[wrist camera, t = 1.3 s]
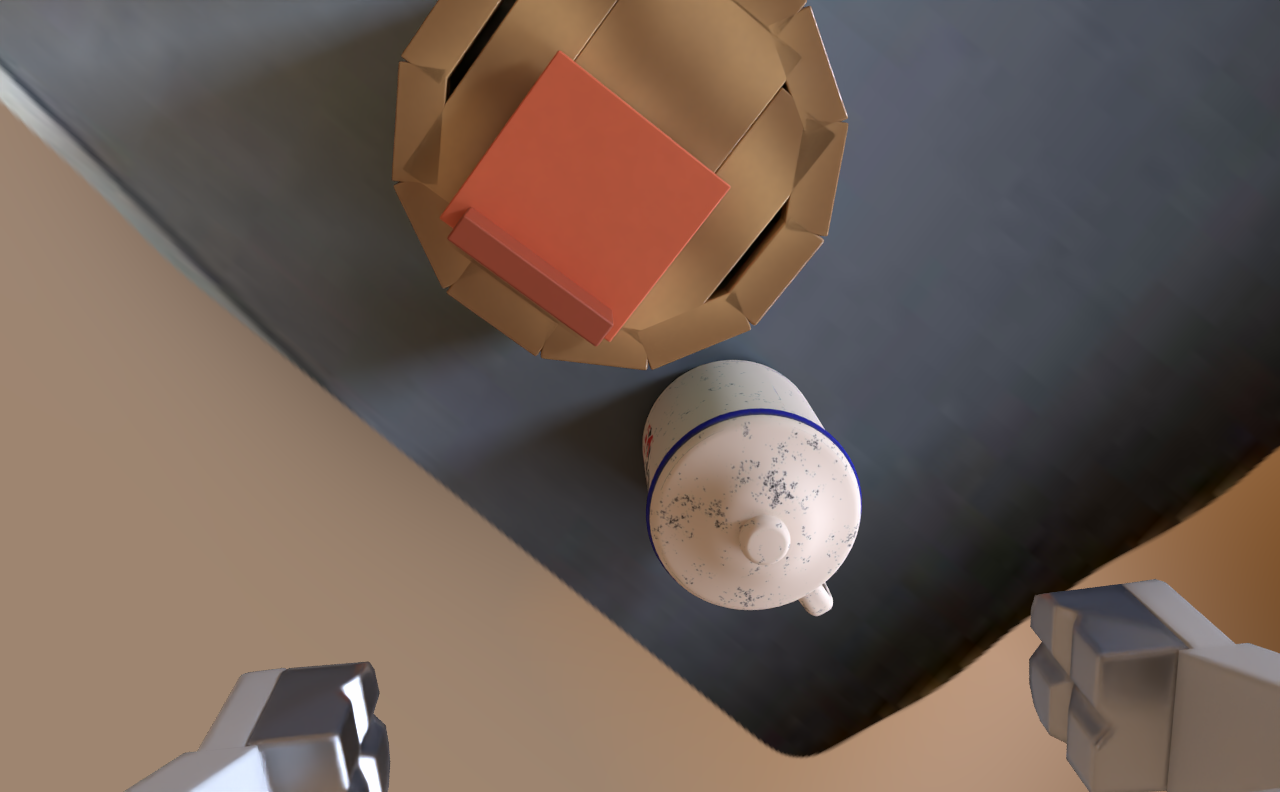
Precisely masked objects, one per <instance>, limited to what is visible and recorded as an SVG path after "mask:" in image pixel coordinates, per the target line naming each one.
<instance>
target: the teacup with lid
mask: <svg viewBox="0 0 1280 792" xmlns="http://www.w3.org/2000/svg"><path fill="white" fill-rule="evenodd" d="M642 450H643V459H644V466H645V474H646V481H647V488H648V497H647V504H646V523H647V530H648V534H649V539H650V542H651V545H652V547H653V550H654V552H655V554H656V556H657V558H658V559H659V561H660V563H661V564H662V566H663V567H664V568H665V570H666V571H667V572H668V573H669V575H670V576H671V577H672V578H673V579H674V580H675V581H676V582H678V583H679V584H680V585H681V586H682V587H684V588H685V589H686V590H688V591H689V592H691V593H692V594H694V595H695V596H697V597H699V598H701V599H703V600H705V601H707V602H710V603H712V604H715V605H718V606H722V607H727V608H732V609H739V610H760V609H768V608H773V607H778V606H782V605H785V604H788V603H791V602H793V601H796V600H799V601H800V603H801V604H802V605H803V607H804V608H805V609H806V610H807V611H808V612H809V613H810V614H812V615H814V616H819V615H821V614H823V613H825V612H827V611H828V610H830V609H831V608H832V605H833V599H832V596H831V594H830V591H829V589H828V587H827V585H826V583H825V582H826V581H827V580H828V579H829V578H830V577H831V576H832V575H833V574H834V573H835V572H836V571H837V570H838V568H839V567H840V566H841V564H842V563H843V562H844V560H845V559H846V557H847V555H848V554H849V552H850V550H851V548H852V546H853V543H854V541H855V538H856V535H857V532H858V528H859V524H860V518H861V509H862V497H861V488H860V483H859V479H858V476H857V473H856V470H855V468H854V465H853V463H852V461H851V459H850V458H849V456H848V454H847V453H846V451H845V450H844V448H843V447H842V446H841V445H840V444H839V442H838V441H837V440H836V439H835V438H834V437H833V436H832V435H831V434H830V433H828V432H827V431H826V430H825V429H824V427H823V426H822V424H821V423H820V421H819V419H818V418H817V416H816V415H815V413H814V412H813V410H812V408H811V407H810V405H809V404H808V402H807V400H806V399H805V397H804V396H803V395H802V393H801V392H800V391H799V389H798V388H797V387H796V386H795V385H794V384H793V383H792V382H791V381H790V380H788V379H787V378H786V377H785V376H783V375H782V374H780V373H779V372H777V371H775V370H773V369H771V368H769V367H767V366H764V365H762V364H758V363H755V362H750V361H744V360H723V361H716V362H711V363H707V364H704V365H701V366H699V367H696V368H694V369H692V370H690V371H688V372H686V373H684V374H683V375H681V376H680V377H678V378H677V379H676V380H675V381H673V382H672V383H671V384H670V385H669V386H668V387H667V388H666V389H665V390H664V391H663V392H662V393H661V395H660V396H659V397H658V399H657V400H656V402H655V403H654V405H653V407H652V409H651V411H650V413H649V415H648V418H647V421H646V424H645V428H644V433H643V442H642Z"/></svg>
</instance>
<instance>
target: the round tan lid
mask: <svg viewBox="0 0 1280 792" xmlns="http://www.w3.org/2000/svg"><path fill="white" fill-rule="evenodd" d="M503 1H504V0H438V1H437V3H436V4H435V6H434V7H433V9H432V10H431V12H430V13H429V15H428V16H427V18H426V19H425V21H424V22H423V24H422V25H421V26H420V28H419V29H418V31H417V32H416V34H415V35H414V37H413V38H412V40H411V41H410V43H409V44H408V46H407V47H406V49H405V50H404V52H403V53H402V55H401V57H402V58H404V59H405V60H406V61H400V62H399V68H398V84H397V101H396V117H395V134H394V150H393V167H392V180H393V181H399V182H398V183H396V184H395V185H394V189H395V191H396V193H397V195H398V197H399V199H400V201H401V204H402V206H403V208H404V210H405V212H406V214H407V216H408V218H409V220H410V222H411V224H412V226H413V228H414V230H415V233H416V235H417V237H418V239H419V241H420V243H421V245H422V247H423V249H424V251H425V253H426V255H427V257H428V259H429V261H430V264H431V266H432V268H433V270H434V272H435V274H436V276H437V278H438V280H439V282H440V284H441V286H442V288H446V287H449V286H450V287H449V289H448V290H447V294H448V295H450V296H451V297H453V298H454V299H455V300H457V301H458V302H460V303H461V304H463V305H464V306H465V307H467V308H468V309H470V310H471V311H472V312H474V313H475V314H477V315H478V316H479V317H481V318H482V319H484V320H485V321H486V322H488V323H489V324H491V325H492V326H493V327H495V328H496V329H498V330H499V331H501V332H502V333H503V334H505V335H506V336H508V337H509V338H510V339H512V340H513V341H515V342H516V343H517V344H519V345H520V346H522V347H523V348H524V349H526V350H527V351H529V352H530V353H531V354H533V355H534V356H536V355H538V353H539V352H540V351H541V358H544V359H552V360H561V361H570V362H578V363H587V364H596V365H604V366H613V367H622V368H630V369H639V370H646V369H647V368H648V363H649V365H650V367H651V369H652V370H653V369H656V368H658V367H661V366H663V365H666V364H668V363H670V362H673V361H675V360H678V359H680V358H683V357H685V356H688V355H690V354H693V353H695V352H697V351H700V350H702V349H705V348H707V347H710V346H712V345H715V344H717V343H720V342H722V341H724V340H727V339H729V338H732V337H734V336H737V335H739V334H742V333H744V332H747V331H749V330H751V327H750V324H749V322H750V323H751V324H753V325H756V324H757V323H758V322H759V321H760V320H761V319H762V317H763V316H764V315H765V314H766V312H767V311H768V310H769V309H770V308H771V306H772V305H773V304H774V303H775V301H776V300H777V299H778V298H779V297H780V295H781V294H782V293H783V292H784V290H785V289H786V288H787V287H788V286H789V284H790V283H791V282H792V281H793V279H794V278H795V277H796V276H797V274H798V273H799V272H800V271H801V270H802V268H803V267H804V266H805V265H806V263H807V262H808V261H809V260H810V259H811V257H812V256H813V255H814V254H815V252H816V251H817V250H818V249H819V248H820V246H821V245H822V244H823V242H824V240H823V239H822V238H821V237H820V236H827V235H828V231H829V226H830V220H831V215H832V210H833V204H834V199H835V194H836V189H837V183H838V178H839V173H840V167H841V162H842V157H843V151H844V146H845V141H846V136H847V130H848V123H845V122H841V121H843V120H845V119H847V118H848V116H847V113H846V110H845V107H844V104H843V101H842V98H841V95H840V92H839V89H838V86H837V83H836V80H835V77H834V74H833V71H832V68H831V65H830V62H829V59H828V56H827V53H826V50H825V47H824V44H823V41H822V38H821V35H820V32H819V29H818V26H817V23H816V20H815V17H814V14H813V11H812V8H811V6H807V7H804V5H805V4H806V3H807V0H517V1H516V2H515V3H514V5H513V6H512V8H511V9H510V11H509V12H508V14H507V15H506V16H505V18H504V19H503V21H502V22H501V24H500V25H499V27H498V28H497V29H496V31H495V32H494V34H493V35H492V37H491V38H490V40H489V41H488V42H487V44H486V45H485V47H484V48H483V50H482V51H481V53H480V54H479V55H478V57H477V58H476V60H475V61H474V63H473V64H472V66H471V67H470V68H469V70H468V71H467V73H466V74H465V76H464V77H463V79H462V80H461V81H460V83H459V84H458V86H457V87H456V89H455V90H454V92H453V93H452V94H451V96H450V97H449V91H450V78H451V77H452V75H453V74H454V72H455V71H456V69H457V68H458V66H459V65H460V64H461V62H462V61H463V59H464V58H465V56H466V55H467V53H468V52H469V50H470V49H471V48H472V46H473V45H474V43H475V42H476V40H477V39H478V37H479V36H480V34H481V33H482V32H483V30H484V29H485V27H486V26H487V24H488V23H489V21H490V20H491V19H492V17H493V16H494V14H495V13H496V11H497V10H498V8H499V7H500V5H501V4H502V3H503ZM559 50H560V51H562V52H563V53H564V54H566V55H567V56H568V57H569V58H571V59H572V60H573V61H574V62H576V63H577V64H578V65H579V66H581V67H582V68H583V69H584V70H586V71H587V72H588V73H589V74H591V75H592V76H593V77H594V78H596V79H597V80H598V81H599V82H601V83H602V84H603V85H604V86H606V87H607V88H608V89H610V90H611V91H612V92H613V93H615V94H616V95H617V96H618V97H620V98H621V99H622V100H623V101H625V102H626V103H627V104H628V105H630V106H631V107H632V108H633V109H635V110H636V111H637V112H638V113H640V114H641V115H642V116H643V117H645V118H646V119H647V120H648V121H650V122H651V123H652V124H653V125H655V126H656V127H657V128H658V129H660V130H661V131H662V132H664V133H665V134H666V135H667V136H669V137H670V138H671V139H672V140H674V141H675V142H676V143H677V144H679V145H680V146H681V147H682V148H684V149H685V150H686V151H687V152H689V153H690V154H691V155H692V156H694V157H695V158H696V159H697V160H699V161H700V162H701V163H702V164H704V165H705V166H706V167H707V168H709V169H710V170H711V171H712V172H714V173H715V174H716V175H717V176H719V177H720V178H721V179H723V180H724V181H725V182H726V183H728V184H729V185H730V189H729V191H728V192H727V193H726V194H725V196H724V197H723V198H722V199H721V201H720V202H719V203H718V205H717V206H716V207H715V208H714V210H713V211H712V212H711V214H710V215H709V216H708V217H707V219H706V220H705V221H704V223H703V224H702V225H701V226H700V228H699V229H698V230H697V231H696V233H695V234H694V235H693V237H692V238H691V239H690V240H689V242H688V243H687V244H686V246H685V247H684V248H683V249H682V251H681V252H680V253H679V255H678V256H677V257H676V258H675V260H674V261H673V262H672V263H671V265H670V266H669V267H668V269H667V270H666V271H665V272H664V274H663V275H662V276H661V278H660V279H659V280H658V281H657V283H656V284H655V285H654V287H653V288H652V289H651V290H650V292H649V293H648V294H647V295H646V297H645V298H644V299H643V301H642V302H641V303H640V304H639V306H638V307H637V308H636V310H635V311H634V312H633V313H632V315H631V316H630V317H629V319H628V320H627V321H626V322H625V324H624V325H623V326H622V327H621V329H620V330H619V331H618V333H617V334H616V335H615V336H614V338H613V339H612V340H611V341H610V342H608V341H607V340H605V339H603V340H602V341H601V342H600V344H599V345H598V346H593V345H592V344H591V343H589V342H588V341H587V340H585V339H584V338H582V337H581V336H580V335H578V334H577V333H576V332H574V331H573V330H571V329H570V328H569V327H567V326H566V325H564V324H563V323H562V322H560V321H559V320H558V319H556V318H555V317H553V316H552V315H551V314H549V313H548V312H547V311H545V310H544V309H542V308H541V307H540V306H538V305H537V304H535V303H534V302H533V301H531V300H530V299H529V298H527V297H526V296H524V295H523V294H522V293H520V292H519V291H518V290H516V289H515V288H513V287H512V286H511V285H509V284H508V283H506V282H505V281H504V280H502V279H501V278H500V277H498V276H497V275H495V274H494V273H493V272H491V271H490V270H489V269H487V268H486V267H484V266H483V265H482V264H480V263H479V262H477V261H476V260H475V259H473V258H472V257H471V256H469V255H468V254H466V253H465V252H464V251H462V250H461V249H460V248H458V247H457V246H455V245H454V244H453V243H451V242H450V241H448V239H447V237H448V235H449V234H450V233H451V231H452V230H453V228H452V227H450V226H449V225H448V224H446V223H445V222H443V221H442V220H441V219H440V216H441V214H442V213H443V212H444V210H445V209H446V207H447V206H448V205H449V203H450V202H451V200H452V199H453V198H454V196H455V195H456V193H457V192H458V191H459V189H460V188H461V186H462V185H463V183H464V182H465V181H466V179H467V178H468V176H469V175H470V174H471V172H472V171H473V169H474V168H475V167H476V165H477V164H478V162H479V161H480V160H481V158H482V157H483V155H484V154H485V153H486V151H487V150H488V148H489V147H490V145H491V144H492V143H493V141H494V140H495V138H496V137H497V136H498V134H499V133H500V131H501V130H502V129H503V127H504V126H505V124H506V123H507V122H508V120H509V119H510V117H511V116H512V115H513V113H514V112H515V110H516V109H517V108H518V106H519V105H520V103H521V102H522V100H523V99H524V98H525V96H526V95H527V93H528V92H529V91H530V89H531V88H532V86H533V85H534V84H535V82H536V81H537V79H538V78H539V77H540V75H541V74H542V72H543V71H544V70H545V68H546V67H547V65H548V64H549V62H550V61H551V60H552V58H553V57H554V55H555V54H556V53H557V51H559ZM782 86H783V88H781V87H782ZM781 207H782V210H781V216H780V219H779V220H778V221H777V223H776V224H775V225H774V226H773V228H772V229H771V230H770V231H769V233H768V234H767V235H766V236H765V238H764V239H763V240H762V241H761V243H760V244H759V245H758V246H757V248H756V249H755V250H754V251H753V253H752V254H751V255H750V256H749V258H748V259H747V260H746V261H745V263H744V264H743V265H742V266H741V268H740V269H739V270H738V271H737V273H736V274H735V275H734V276H733V278H732V279H731V280H730V281H729V283H728V284H727V285H726V286H725V288H722V289H720V290H717V291H715V290H716V288H717V287H718V286H719V285H720V283H721V282H722V281H723V280H724V278H725V277H726V276H727V275H728V273H729V272H730V271H731V270H732V268H733V267H734V266H735V265H736V263H737V262H738V261H739V260H740V258H741V257H742V256H743V255H744V253H745V252H746V251H747V250H748V248H749V247H750V246H751V245H752V243H753V242H754V241H755V240H756V238H757V237H758V236H759V235H760V233H761V232H762V231H763V230H764V228H765V227H766V226H767V225H768V223H769V222H770V221H771V220H772V218H773V217H774V216H775V215H776V213H777V212H778V211H779V210H780V208H781ZM819 235H820V236H819ZM714 291H715V292H714ZM748 321H749V322H748Z"/></svg>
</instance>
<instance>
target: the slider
mask: <svg viewBox="0 0 1280 792" xmlns="http://www.w3.org/2000/svg"><path fill="white" fill-rule="evenodd" d="M729 189H730V185H729V184H728V183H726V182H725V181H724V180H723V179H721V178H720V177H719V176H717V175H716V174H715V173H714V172H712V171H711V170H710V169H709V168H707V167H706V166H705V165H704V164H702V163H701V162H700V161H699V160H697V159H696V158H695V157H694V156H692V155H691V154H690V153H689V152H687V151H686V150H685V149H684V148H682V147H681V146H680V145H679V144H677V143H676V142H675V141H674V140H672V139H671V138H670V137H669V136H667V135H666V134H665V133H664V132H662V131H661V130H660V129H658V128H657V127H656V126H655V125H653V124H652V123H651V122H650V121H648V120H647V119H646V118H645V117H643V116H642V115H641V114H640V113H638V112H637V111H636V110H635V109H633V108H632V107H631V106H630V105H628V104H627V103H626V102H625V101H623V100H622V99H621V98H620V97H618V96H617V95H616V94H615V93H613V92H612V91H611V90H610V89H608V88H607V87H606V86H604V85H603V84H602V83H601V82H599V81H598V80H597V79H596V78H594V77H593V76H592V75H591V74H589V73H588V72H587V71H586V70H584V69H583V68H582V67H581V66H579V65H578V64H577V63H576V62H574V61H573V60H572V59H571V58H569V57H568V56H567V55H566V54H564V53H563V52H562V51H560V50H559V51H557V53H556V54H555V55H554V57H553V58H552V60H551V61H550V62H549V64H548V65H547V67H546V68H545V70H544V71H543V72H542V74H541V75H540V77H539V78H538V79H537V81H536V82H535V84H534V85H533V86H532V88H531V89H530V91H529V92H528V93H527V95H526V96H525V98H524V99H523V100H522V102H521V103H520V105H519V106H518V108H517V109H516V110H515V112H514V113H513V115H512V116H511V117H510V119H509V120H508V122H507V123H506V124H505V126H504V127H503V129H502V130H501V131H500V133H499V134H498V136H497V137H496V138H495V140H494V141H493V143H492V144H491V145H490V147H489V148H488V150H487V151H486V153H485V154H484V155H483V157H482V158H481V160H480V161H479V162H478V164H477V165H476V167H475V168H474V169H473V171H472V172H471V174H470V175H469V176H468V178H467V179H466V181H465V182H464V183H463V185H462V186H461V188H460V189H459V191H458V192H457V193H456V195H455V196H454V198H453V199H452V200H451V202H450V203H449V205H448V206H447V207H446V209H445V210H444V212H443V213H442V214H441V216H440V219H441V220H442V221H443V222H445V223H446V224H448V225H449V226H450V227H452V228H453V230H452V231H451V233H450V234H449V235H448V237H447V239H448V241H450V242H451V243H453V244H454V245H455V246H457V247H458V248H460V249H461V250H462V251H464V252H465V253H466V254H468V255H469V256H471V257H472V258H473V259H475V260H476V261H477V262H479V263H480V264H482V265H483V266H484V267H486V268H487V269H489V270H490V271H491V272H493V273H494V274H495V275H497V276H498V277H500V278H501V279H502V280H504V281H505V282H506V283H508V284H509V285H511V286H512V287H513V288H515V289H516V290H518V291H519V292H520V293H522V294H523V295H524V296H526V297H527V298H529V299H530V300H531V301H533V302H534V303H535V304H537V305H538V306H540V307H541V308H542V309H544V310H545V311H547V312H548V313H549V314H551V315H552V316H553V317H555V318H556V319H558V320H559V321H560V322H562V323H563V324H564V325H566V326H567V327H569V328H570V329H571V330H573V331H574V332H576V333H577V334H578V335H580V336H581V337H582V338H584V339H585V340H587V341H588V342H589V343H591V344H592V345H593V346H598V345H599V344H600V342H601V341H602V340H603V339H605V340H607V341H608V342H610V341H611V340H612V339H613V338H614V336H615V335H616V334H617V333H618V331H619V330H620V329H621V327H622V326H623V325H624V324H625V322H626V321H627V320H628V319H629V317H630V316H631V315H632V313H633V312H634V311H635V310H636V308H637V307H638V306H639V304H640V303H641V302H642V301H643V299H644V298H645V297H646V295H647V294H648V293H649V292H650V290H651V289H652V288H653V287H654V285H655V284H656V283H657V281H658V280H659V279H660V278H661V276H662V275H663V274H664V272H665V271H666V270H667V269H668V267H669V266H670V265H671V263H672V262H673V261H674V260H675V258H676V257H677V256H678V255H679V253H680V252H681V251H682V249H683V248H684V247H685V246H686V244H687V243H688V242H689V240H690V239H691V238H692V237H693V235H694V234H695V233H696V231H697V230H698V229H699V228H700V226H701V225H702V224H703V223H704V221H705V220H706V219H707V217H708V216H709V215H710V214H711V212H712V211H713V210H714V208H715V207H716V206H717V205H718V203H719V202H720V201H721V199H722V198H723V197H724V196H725V194H726V193H727V192H728V191H729Z"/></svg>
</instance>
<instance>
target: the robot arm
mask: <svg viewBox="0 0 1280 792" xmlns="http://www.w3.org/2000/svg"><path fill="white" fill-rule="evenodd" d="M1030 627H1031V628H1032V629H1033V631H1034V632H1035V633H1036V634H1037V636H1038V637H1039V638H1040V640H1041V641H1042V643H1041V644H1040V645H1039V647H1038V648H1037V649H1036V651H1035V652H1034V653H1033V655H1032V656H1031V658H1030V659H1029V675H1030V676H1029V681H1030V682H1029V683H1030V689H1031V694H1032V698H1033V703H1034V707H1035V709H1036V712H1037V714H1038V716H1039V719H1040V721H1041V723H1042V724H1043V726H1044V727H1045V728H1046V730H1047V732H1048V733H1049V735H1051V736H1053V737H1055V738H1057V739H1059V740H1061V741H1063V742H1065V743H1066V744H1067V755H1066V756H1067V757H1066V759H1067V761H1068V762H1069V764H1070V765H1071V766H1072V768H1073V769H1074V771H1075V772H1076V773H1077V775H1078V776H1079V778H1080V779H1081V781H1082V782H1083V783H1084V785H1085V786H1086V787H1087V789H1088V790H1089V792H1154V791H1167V792H1280V653H1277V652H1274V651H1271V650H1267V649H1265V648H1262V647H1258V646H1256V645H1253V644H1249V643H1245V644H1235V643H1234V642H1233V641H1231V640H1230V639H1229V638H1228V637H1227V636H1226V635H1224V634H1223V633H1222V632H1221V631H1220V630H1219V629H1218V628H1216V626H1214V625H1213V624H1212V623H1211V622H1210V621H1209V620H1208V619H1206V618H1205V617H1204V616H1203V615H1202V614H1201V613H1200V612H1198V611H1197V610H1196V609H1195V608H1194V607H1193V606H1192V605H1191V604H1189V603H1188V602H1187V601H1186V600H1185V599H1184V598H1183V597H1181V596H1180V595H1179V594H1178V593H1177V592H1176V591H1175V590H1174V589H1172V588H1171V587H1170V586H1169V585H1168V584H1167V583H1165V582H1163V581H1159V580H1156V579H1154V580H1147V581H1140V582H1133V583H1126V584H1118V585H1109V586H1101V587H1095V588H1086V589H1078V590H1070V591H1062V592H1054V593H1046V594H1041V595H1036V596H1035V598H1034V601H1033V604H1032V608H1031V626H1030ZM378 697H379V689H378V684H377V679H376V675H375V671H374V668H373V667H372V665H371V664H370V662H358V663H346V664H334V665H322V666H311V667H298V668H289V669H285V668H280V669H272V670H263V671H255V672H248V673H245V674H243V675H241V676H240V677H239V679H238V681H237V682H236V684H235V686H234V688H233V689H232V691H231V693H230V695H229V696H228V698H227V700H226V702H225V703H224V705H223V707H222V709H221V710H220V712H219V714H218V716H217V717H216V719H215V721H214V723H213V724H212V726H211V728H210V730H209V731H208V733H207V735H206V737H205V738H204V740H203V742H202V744H201V745H200V747H199V749H198V751H197V752H188V753H183V754H182V755H180V756H179V757H177V758H176V759H174V760H172V761H171V762H169V763H168V764H166V765H165V766H163V767H161V768H160V769H158V770H157V771H155V772H154V773H152V774H150V775H149V776H147V777H146V778H144V779H143V780H141V781H139V782H138V783H137V784H135V785H133V786H132V787H130V788H129V789H127V790H125V791H124V792H388V787H389V773H390V754H389V742H388V736H387V731H386V725H385V724H384V723H382V721H381V720H379V719H378V718H377V717H376V716H375V715H374V714H373V713H374V710H375V706H376V703H377V700H378Z"/></svg>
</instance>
